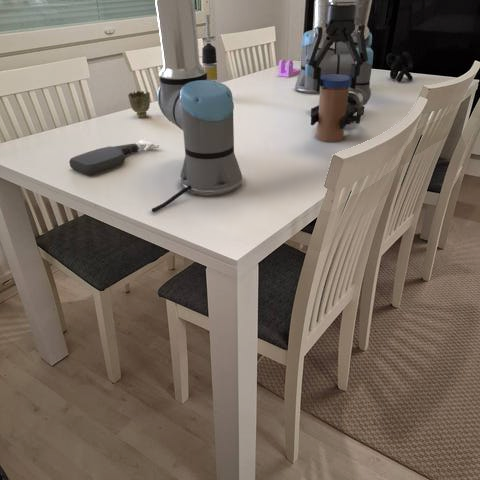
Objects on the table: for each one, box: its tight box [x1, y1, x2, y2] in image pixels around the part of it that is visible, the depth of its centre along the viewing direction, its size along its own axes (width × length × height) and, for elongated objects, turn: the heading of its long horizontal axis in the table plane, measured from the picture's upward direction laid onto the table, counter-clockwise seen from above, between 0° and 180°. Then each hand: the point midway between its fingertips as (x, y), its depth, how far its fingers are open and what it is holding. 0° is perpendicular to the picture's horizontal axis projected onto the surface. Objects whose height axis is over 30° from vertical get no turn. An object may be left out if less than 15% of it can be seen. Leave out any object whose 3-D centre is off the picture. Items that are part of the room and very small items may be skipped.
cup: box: [127, 90, 151, 118], centre depth 157 cm, size 8×7×8 cm
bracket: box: [277, 59, 301, 78], centre depth 213 cm, size 13×6×7 cm, turn 143°
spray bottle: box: [68, 139, 160, 177], centre depth 124 cm, size 3×11×24 cm
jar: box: [316, 86, 349, 143], centre depth 133 cm, size 8×8×17 cm
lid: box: [320, 74, 352, 88], centre depth 129 cm, size 9×9×2 cm
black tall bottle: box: [201, 14, 218, 82], centre depth 171 cm, size 6×6×30 cm
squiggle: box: [385, 51, 414, 83], centre depth 198 cm, size 11×10×15 cm
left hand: (334, 89), depth 130 cm, fingers open, 10 cm apart
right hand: (326, 122), depth 131 cm, fingers closed on jar, 8 cm apart
